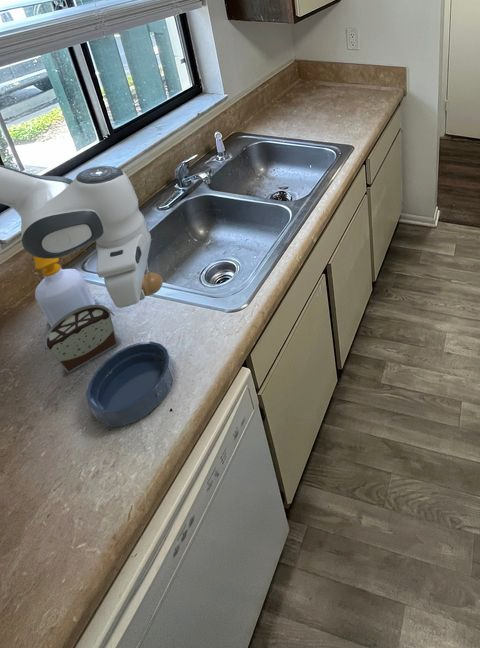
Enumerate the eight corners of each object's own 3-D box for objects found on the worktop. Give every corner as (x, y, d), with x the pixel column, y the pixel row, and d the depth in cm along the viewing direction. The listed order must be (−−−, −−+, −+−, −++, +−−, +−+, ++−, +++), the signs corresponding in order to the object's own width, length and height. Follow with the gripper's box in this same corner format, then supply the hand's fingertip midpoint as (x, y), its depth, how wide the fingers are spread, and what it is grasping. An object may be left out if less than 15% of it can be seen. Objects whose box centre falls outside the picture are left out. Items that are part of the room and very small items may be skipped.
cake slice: (117, 323, 103) (104, 292, 98) (125, 340, 99) (111, 309, 94) (54, 358, 95) (36, 327, 90) (59, 378, 91) (41, 346, 87)
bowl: (86, 440, 80) (77, 425, 78) (103, 370, 92) (96, 355, 90) (171, 410, 85) (165, 395, 83) (177, 347, 97) (171, 332, 94)
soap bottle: (53, 338, 99) (8, 257, 89) (49, 313, 105) (7, 234, 95) (99, 315, 104) (62, 236, 94) (92, 293, 111) (57, 216, 100)
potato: (124, 307, 92) (117, 291, 90) (127, 290, 96) (121, 275, 94) (163, 296, 94) (158, 280, 92) (166, 280, 98) (160, 265, 96)
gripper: (116, 211, 96) (134, 258, 102) (93, 278, 79) (117, 330, 85) (148, 204, 98) (164, 250, 104) (133, 268, 81) (153, 320, 87)
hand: (143, 287), depth 94 cm, fingers closed on potato, 4 cm apart
